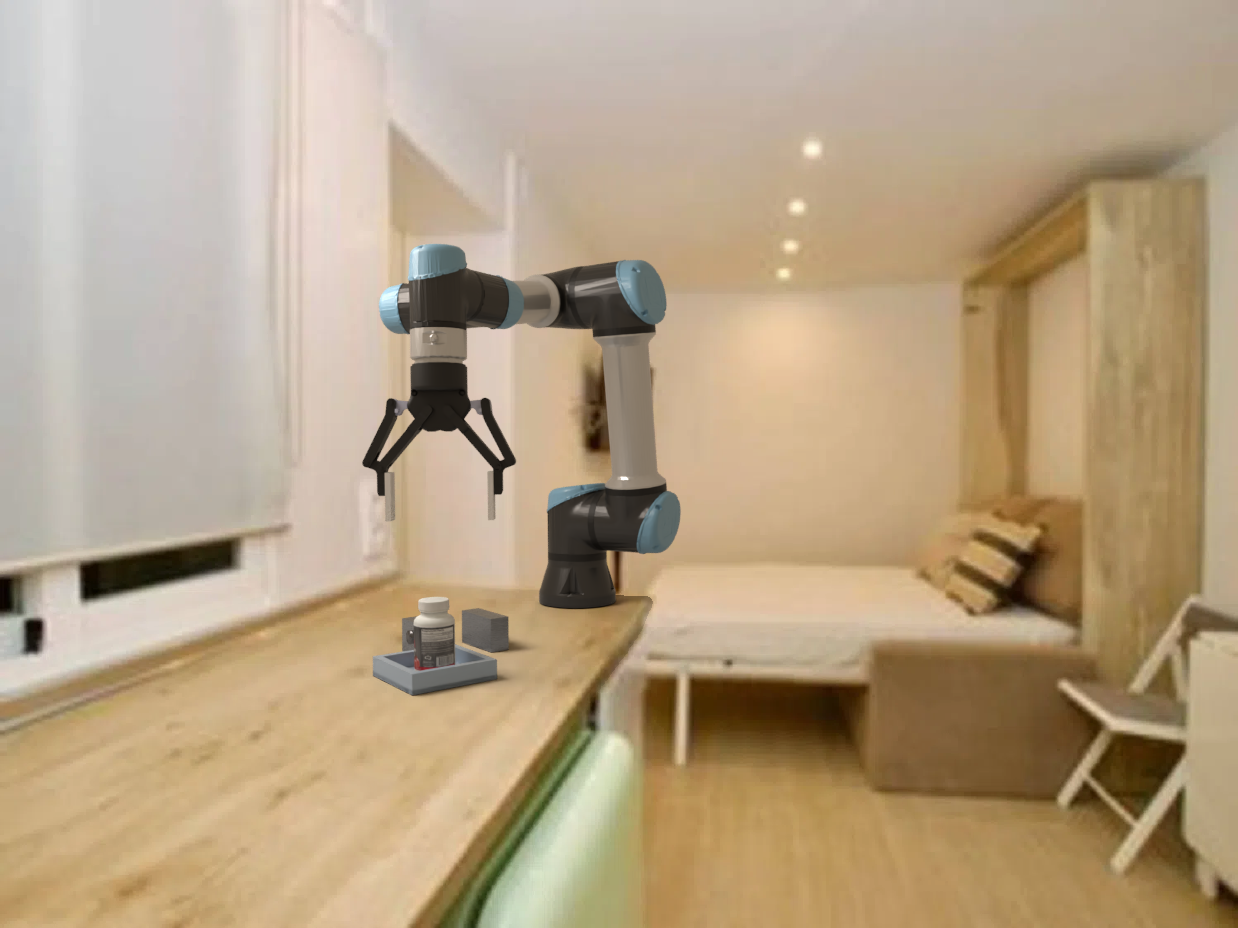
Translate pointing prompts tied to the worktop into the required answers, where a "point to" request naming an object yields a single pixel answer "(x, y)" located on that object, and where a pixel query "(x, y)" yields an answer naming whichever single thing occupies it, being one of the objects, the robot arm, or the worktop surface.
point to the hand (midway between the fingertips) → (441, 520)
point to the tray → (434, 671)
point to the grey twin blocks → (470, 630)
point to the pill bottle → (434, 634)
